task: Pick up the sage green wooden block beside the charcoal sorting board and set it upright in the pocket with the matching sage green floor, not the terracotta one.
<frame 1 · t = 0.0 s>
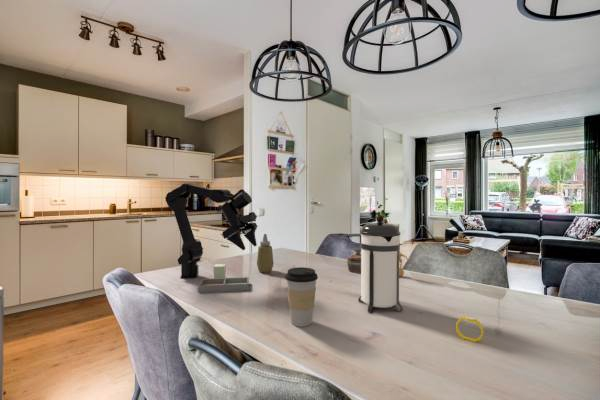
hand: (250, 247, 124), 15 cm above the table, tool tilted 35°, fingers open, 9 cm apart
squeeze bottle: (265, 271, 144), on the table
sage block: (219, 279, 131), on the table
sorting board: (224, 287, 119), on the table
figurine: (398, 277, 134), on the table
cupcake: (357, 271, 145), on the table
yellow ring: (469, 340, 77), on the table
coffee cup: (301, 322, 87), on the table
coffee press: (377, 305, 101), on the table
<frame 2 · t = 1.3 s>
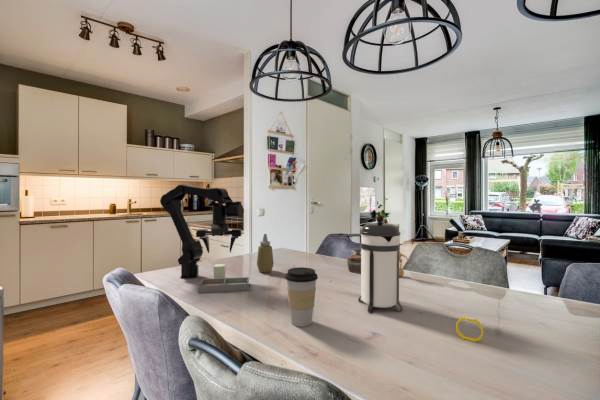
hand: (219, 252, 131), 12 cm above the table, tool pointing down, fingers open, 9 cm apart
nothing on the table moved.
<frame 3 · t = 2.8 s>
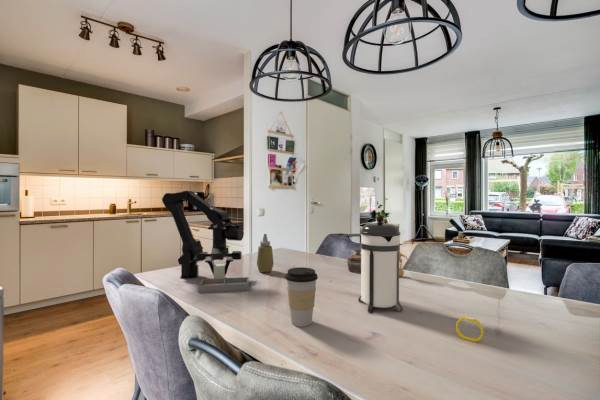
hand: (219, 275, 131), 2 cm above the table, tool pointing down, fingers closed on sage block, 4 cm apart
sage block: (219, 278, 131), on the table, touching gripper
everything else where it was.
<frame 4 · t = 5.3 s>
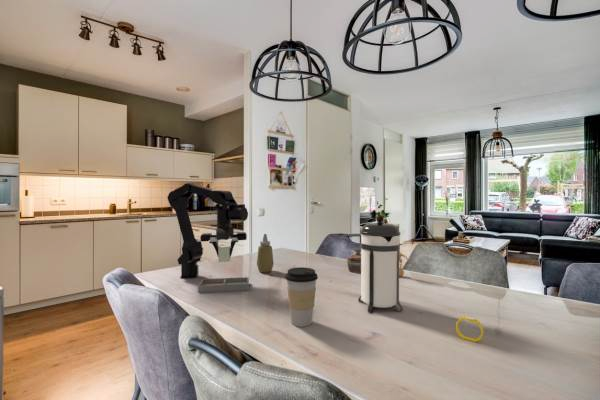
hand: (224, 256, 128), 10 cm above the table, tool pointing down, fingers closed on sage block, 4 cm apart
sage block: (224, 260, 128), point 9 cm above the table, touching gripper
everything else where it was.
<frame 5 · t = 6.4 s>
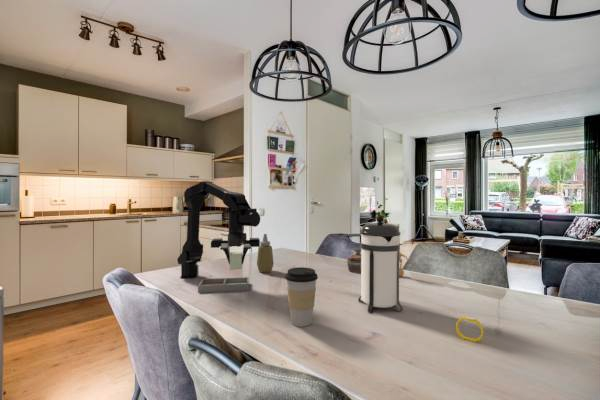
hand: (236, 264, 120), 9 cm above the table, tool pointing down, fingers closed on sage block, 4 cm apart
sage block: (236, 268, 120), point 8 cm above the table, touching gripper
everything else where it was.
when the fingers open (4 cm above the table, at t = 7.6 s): sage block drops 2 cm, resting on sorting board.
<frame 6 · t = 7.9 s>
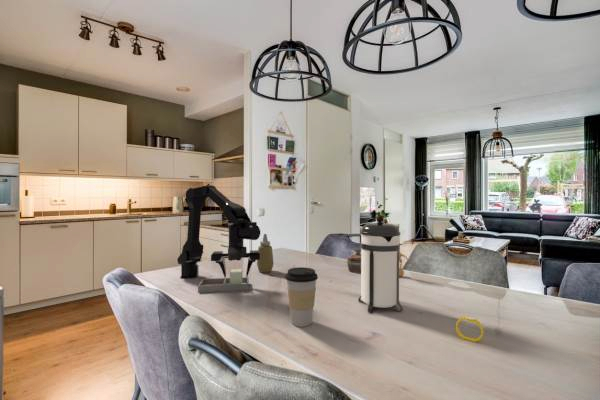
hand: (236, 277, 120), 4 cm above the table, tool pointing down, fingers open, 8 cm apart
sage block: (236, 285, 120), point 1 cm above the table, touching sorting board
everything else where it was.
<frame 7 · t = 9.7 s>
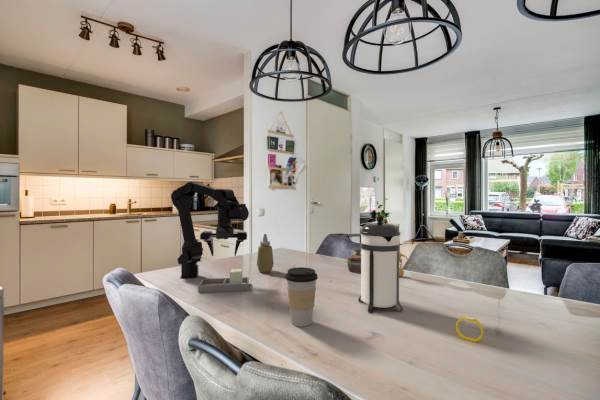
hand: (223, 255, 127), 11 cm above the table, tool pointing down, fingers open, 9 cm apart
nothing on the table moved.
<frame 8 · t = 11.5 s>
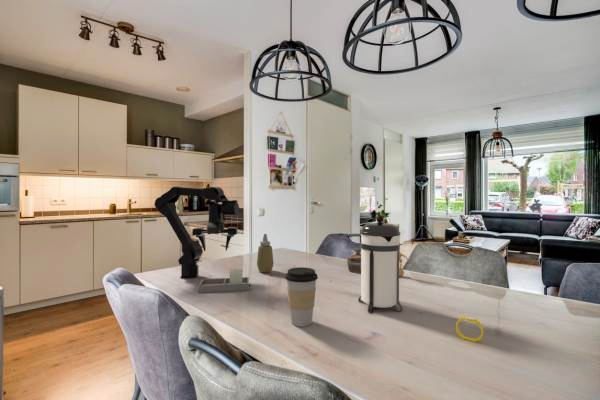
hand: (215, 250, 133), 12 cm above the table, tool pointing down, fingers open, 9 cm apart
nothing on the table moved.
at the end: sage block 0.0 cm from the target spot on the sorting board, point 0.6 cm above the sorting board's base; sage block tilted 0°; the gripper is holding nothing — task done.
